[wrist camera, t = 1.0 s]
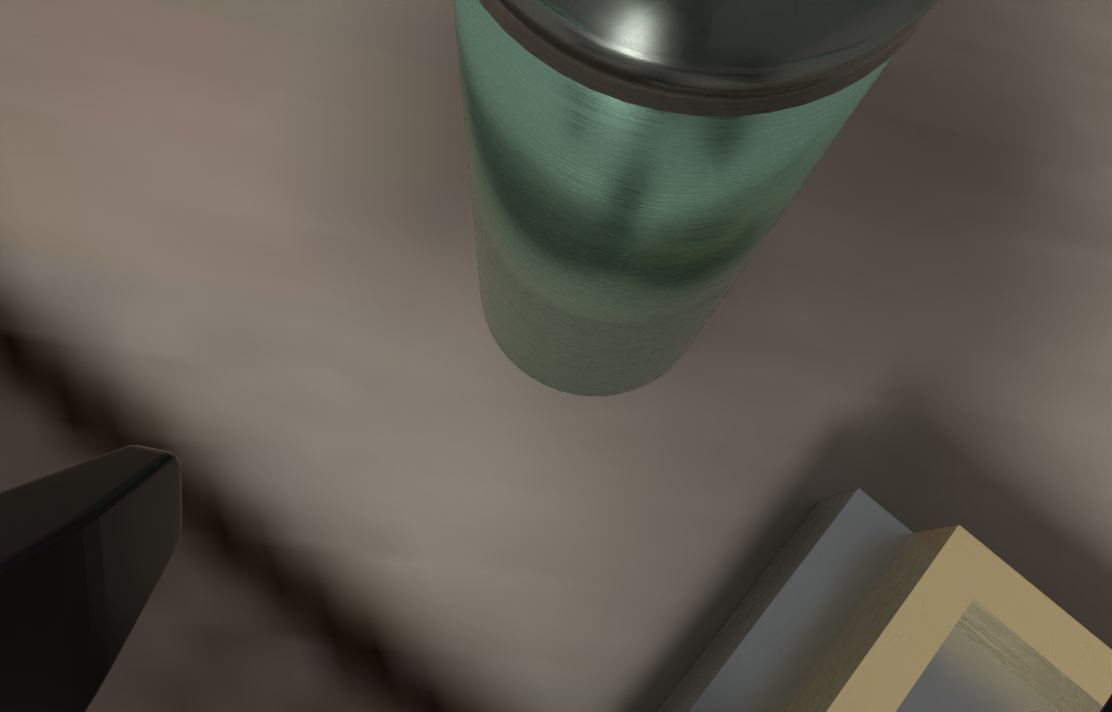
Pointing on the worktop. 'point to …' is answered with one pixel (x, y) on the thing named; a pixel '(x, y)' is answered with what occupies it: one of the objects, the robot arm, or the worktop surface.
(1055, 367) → the worktop surface
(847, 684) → the grey tray base
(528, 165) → the spout can
